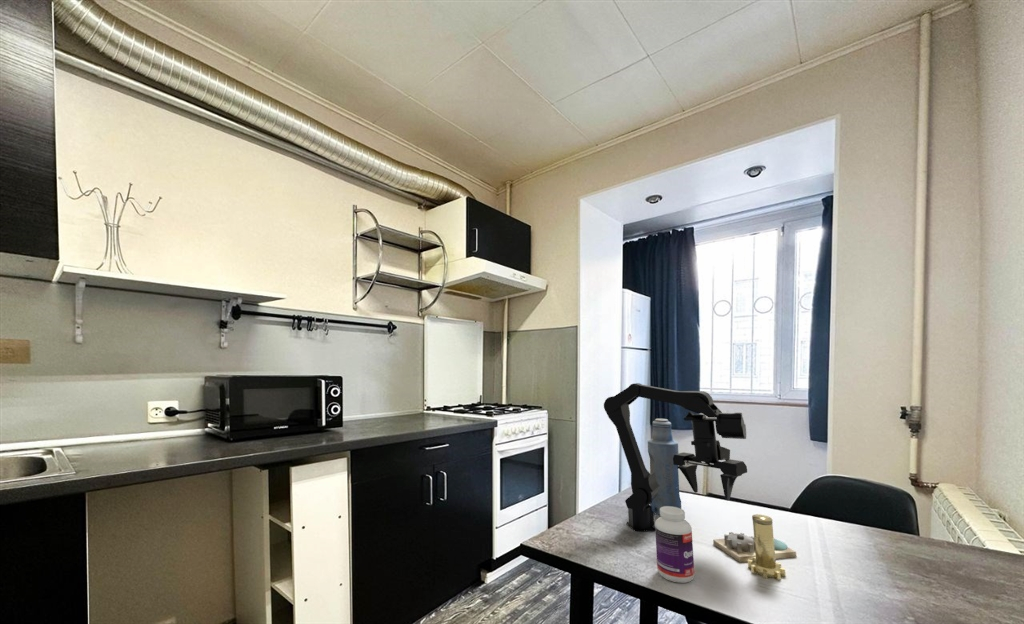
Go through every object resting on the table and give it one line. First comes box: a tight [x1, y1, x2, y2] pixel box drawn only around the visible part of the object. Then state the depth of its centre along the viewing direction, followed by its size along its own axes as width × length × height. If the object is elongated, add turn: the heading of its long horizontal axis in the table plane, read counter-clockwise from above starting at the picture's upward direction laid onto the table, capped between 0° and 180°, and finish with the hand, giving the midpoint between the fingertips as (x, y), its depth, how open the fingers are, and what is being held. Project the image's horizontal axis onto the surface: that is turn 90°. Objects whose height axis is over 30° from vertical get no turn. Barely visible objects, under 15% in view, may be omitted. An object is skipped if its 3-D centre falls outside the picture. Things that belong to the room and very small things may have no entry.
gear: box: [747, 514, 786, 581], centre depth 95 cm, size 7×7×12 cm
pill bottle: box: [654, 506, 695, 584], centre depth 94 cm, size 8×8×14 cm
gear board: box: [712, 531, 797, 563], centre depth 105 cm, size 17×10×4 cm, turn 99°
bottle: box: [647, 418, 682, 516], centre depth 134 cm, size 10×10×30 cm
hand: (711, 496), depth 110 cm, fingers open, 9 cm apart
